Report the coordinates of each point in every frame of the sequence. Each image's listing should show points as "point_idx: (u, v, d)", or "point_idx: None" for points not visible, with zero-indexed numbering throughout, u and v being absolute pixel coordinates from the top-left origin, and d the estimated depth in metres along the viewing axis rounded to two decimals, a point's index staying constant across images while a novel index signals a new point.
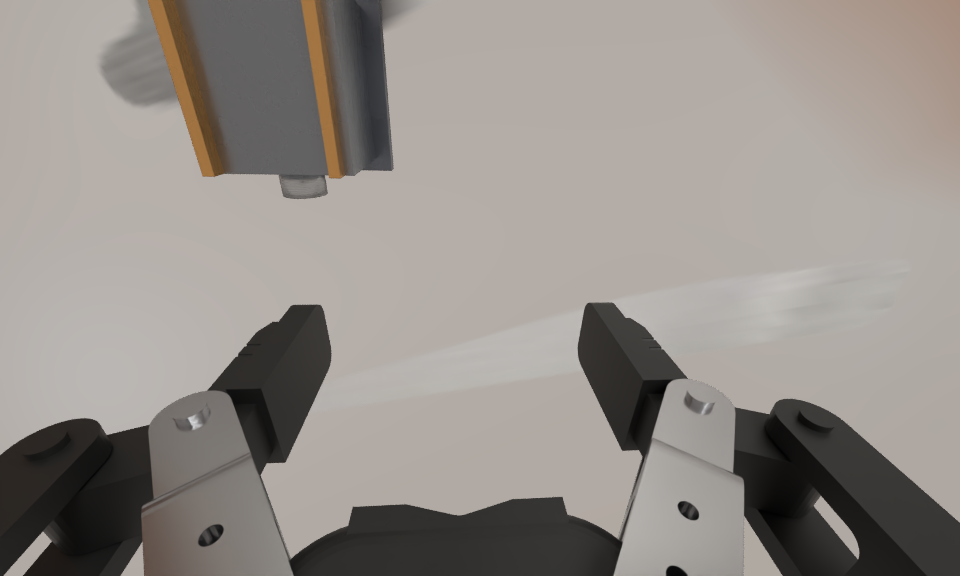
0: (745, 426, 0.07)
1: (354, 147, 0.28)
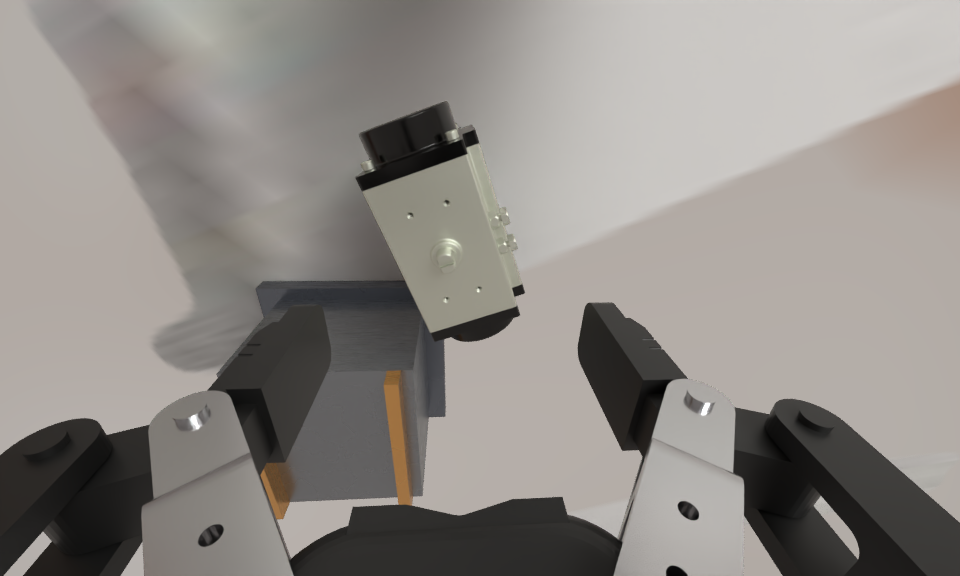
0: (745, 426, 0.07)
1: (422, 465, 0.27)
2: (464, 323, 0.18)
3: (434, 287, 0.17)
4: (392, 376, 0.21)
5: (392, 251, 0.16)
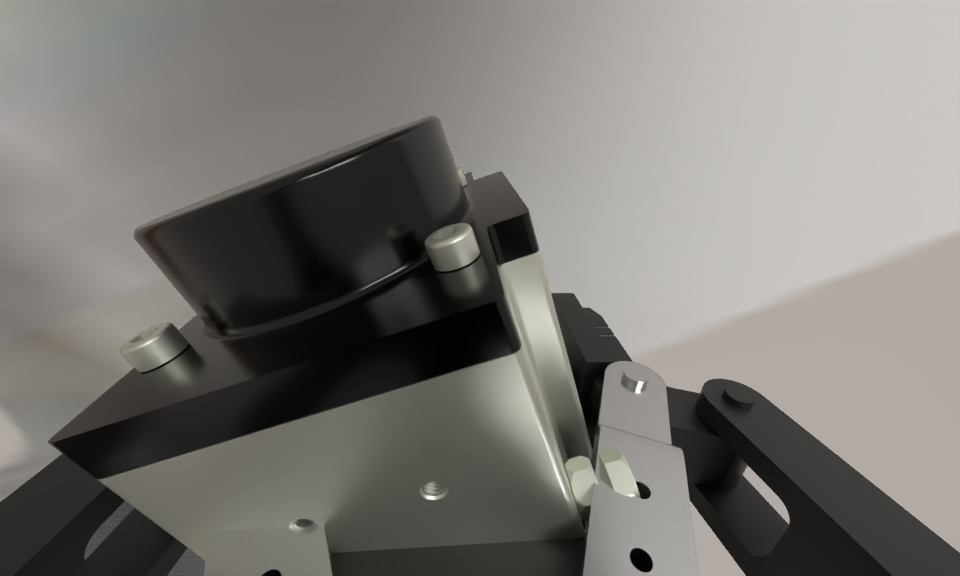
0: (678, 404, 0.08)
1: None
2: None
3: None
4: None
5: None
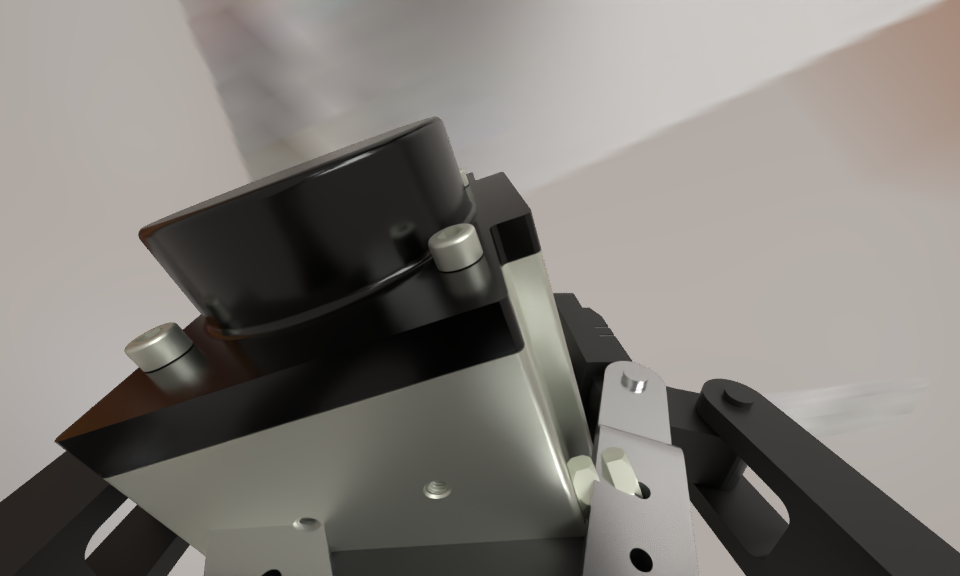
0: (678, 404, 0.08)
1: None
2: None
3: None
4: None
5: None
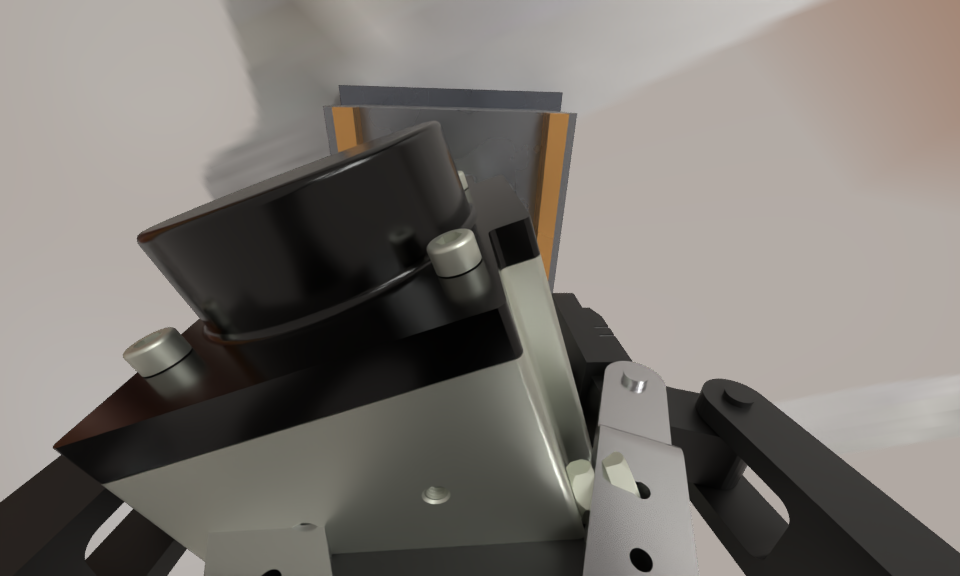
0: (678, 404, 0.08)
1: None
2: None
3: None
4: None
5: None
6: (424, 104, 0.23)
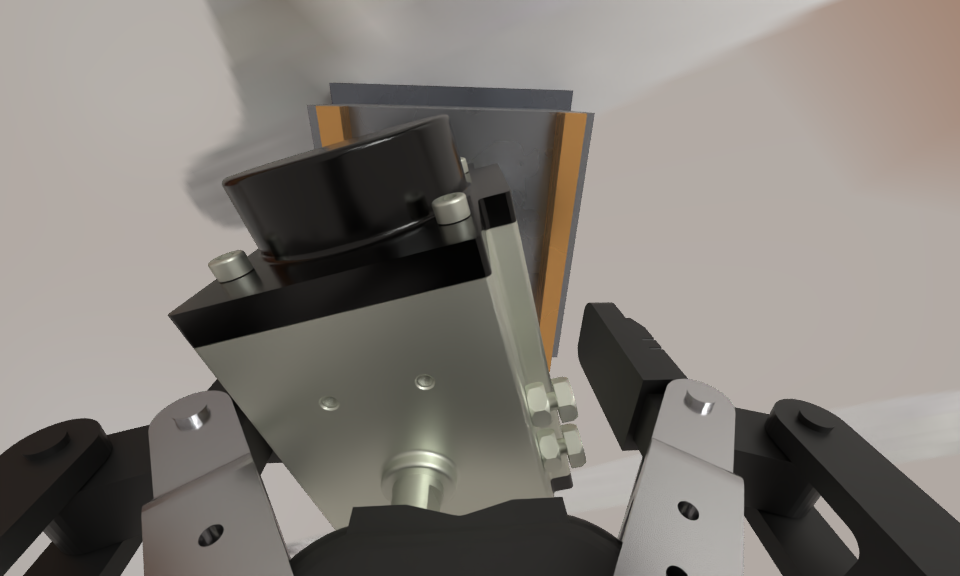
0: (745, 426, 0.07)
1: None
2: None
3: None
4: (570, 112, 0.14)
5: (288, 467, 0.07)
6: (423, 103, 0.21)
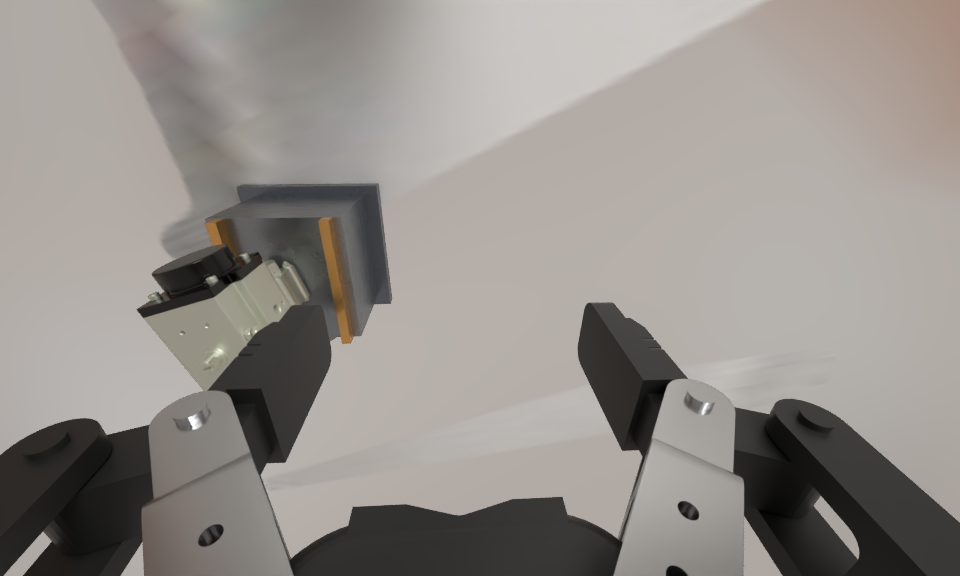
0: (745, 426, 0.07)
1: (360, 313, 0.36)
2: None
3: (212, 378, 0.24)
4: (325, 218, 0.30)
5: (174, 354, 0.23)
6: (291, 195, 0.38)
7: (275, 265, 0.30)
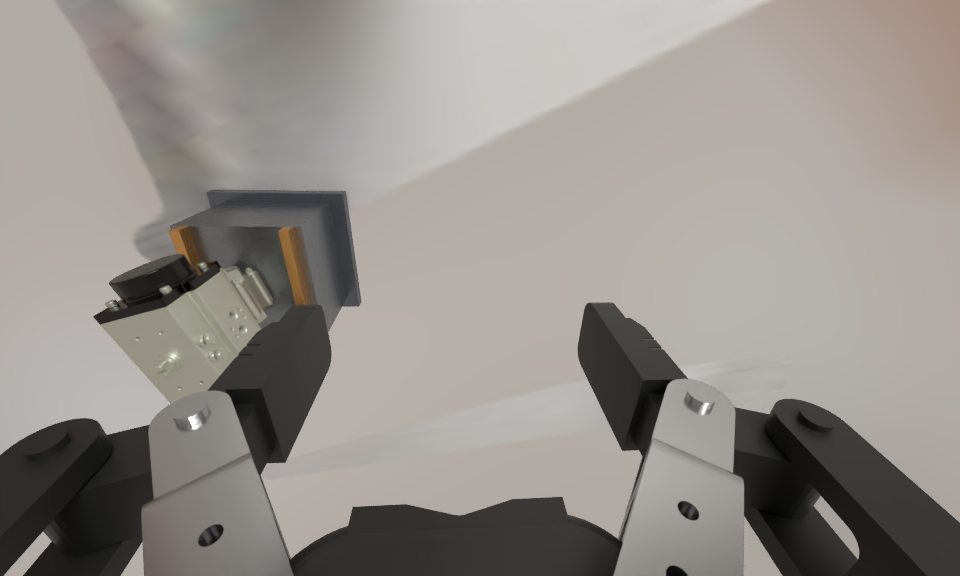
0: (745, 426, 0.07)
1: None
2: None
3: (168, 380, 0.26)
4: (286, 228, 0.32)
5: (131, 358, 0.24)
6: (259, 201, 0.39)
7: (237, 272, 0.32)
